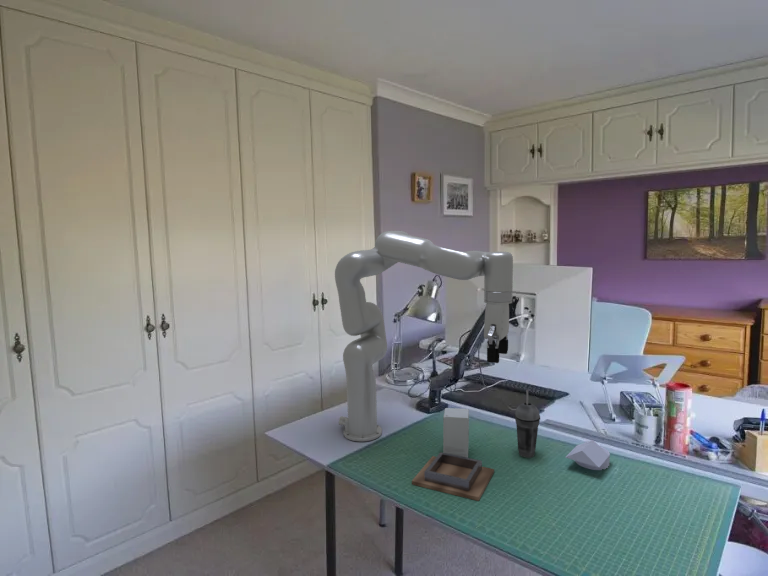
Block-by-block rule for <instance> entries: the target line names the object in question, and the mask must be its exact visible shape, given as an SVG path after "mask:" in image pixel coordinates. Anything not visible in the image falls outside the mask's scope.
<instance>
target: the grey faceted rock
mask: <svg viewBox="0 0 768 576" xmlns="http://www.w3.org/2000/svg"><path fill="white" fill-rule="evenodd" d="M610 457H611V454H610V451H609V450H608V449H607V448H605V447H603V446H601V445H599V444H598V443H597V442H596V441H595V440H594V439H590V440H589V441H586V442H583V443H580V444H576V446H574V447H573V449H572V450H571V451H570V452H569V453H567V455H566V456H565V459H569V460H572V461H574V462H575V463H576V464H577V465H578V466H580V467H583V468H585V469H588V470H593V471H603V470H602V469H604V470H606V468H607V469H608V468H609V467H610V460H611V459H610ZM608 466H609V467H608Z"/></svg>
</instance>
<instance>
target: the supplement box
mask: <svg viewBox="0 0 768 576" xmlns="http://www.w3.org/2000/svg"><path fill="white" fill-rule="evenodd" d="M442 417H443V423H442V426H443V428H442V429H443V430H442V435H443V437H442V438H443V439H442V440H443V441H442V442H443V445H442V447H443V450H442V451H443V453H447V454H452V455H457V456H462V457H466V458H469V442H470V441H469V440H470V439H469V437H470V433H469V432H470V428H469V427H470V410H469V409H468V408H455V407H454V408H453V407H446V408H444V411H443V416H442Z"/></svg>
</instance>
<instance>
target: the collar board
mask: <svg viewBox="0 0 768 576" xmlns="http://www.w3.org/2000/svg"><path fill="white" fill-rule="evenodd" d="M494 473H495V468H491V467H490V468H489V467H487V466H483V460H481V459H476V458H471V457H468V458H466V457H462V456H457V455H452V454H447V453H443V452H441V451H440V452H439V453H438V454H437V456H435V455H432V456H431V457H430V458H429V459H428V461H427V462H426V463H425V464H424V466H423V467H422V468H421V469H420V470H419V471H418V472H417V474H416V475H415V476H414V477H413V479H411V485H413V486H416V487H420V488H424V489H429V490H433V491H436V492H441V493H444V494H449V495H454V496H456V497H457V496H458V497H461V498H465V499H468V500H469V499H470V500H473V501H476V502H477V501H478V502H479V501H480V500H481V497H483V494H484V493H485V491H486V489H487V487H488V485H489V483H490V481H491V479H492V478H493V476H494Z"/></svg>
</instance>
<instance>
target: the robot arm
mask: <svg viewBox="0 0 768 576" xmlns="http://www.w3.org/2000/svg"><path fill="white" fill-rule="evenodd" d="M513 258H514V256H513V254H512V253H511V252H508V251H489V252H488V251H482V250H468V251H458V250H454V249H449V248H445V247H441V246H439V245H436V244H434V243H433V241H432V240H430V239H427V238H425V237H424V238H423V237H419V236H415V235H410V234H409V233H408V232H406V231H404V230H403V231H402V230H389V231H383V232H381V234H379V235H378V236H377V238H376V239H375V243H374V247H373V248H371V249H363V250H355V251H351V252H349V253H347V254H346V255H344V256H343V257H342V258H340V259H339V261H338V262H337V264H336V266H335V270H334V280H335V286H336V290H337V294H338V295H337V296H338V302H339V310H340V317H341V322H342V327H343V330H344V331H345V333H346V334H347V335H349V336H353V337H356V336H360V337H359V338H356V339H355V340H353V341H351V342H349V343H348V344H347V345H346V347H345V348H344V349H343V353H342V361H343V366H344V371H345V378H346V397H347V398H346V399H347V402H346V403H347V416H343V415H342V416H341V415H340V417H339V419H338V420H339V421H338V425H340V426H344V429H343V436H344V438H346V439H347V440H349V441H353V442H360V443H361V442H368V441H374V440H376V439H379V437H381V435H382V434H383V429H382V427H381V426H380V425H378V412H377V411H378V410H377V409H378V407H377V406H378V405H377V402H378V400H377V377H376V375H375V371H374V369H373V368H374V367H373V365H374V364H376V363H377V362H379V361H381V360H382V359H384V357H386V355H387V351H388V343H387V342H388V341H387V336H386V327H385V321H384V316H383V313H382V310H381V308H380V307H379V306H378V305H377V304H375V303H374V302H371V301H368V302H367V299H366V292H365V288H364V286H363V284H362V282H361V280H362V279H363V278H369V277H372V276H374V277H375V276H377V275H379V274H382V273H384V272H386V271H387V270H388V269H390V268H392V267H393V266H394V265H396V264H398V263H400V264H405V265H408V266H413V267H417V268H421V269H423V270H424V271H427V272H430V273H433V274H435V275H439V276H443V277H446V278H449V279H450V278H451V279H454V280H459V281H469V280H471V279H473V278H474V279H475V278H478V277H484V279H483V280H484V281H483V282H484V283H483V285H484V286H483V290H484V291H483V300H484V301H483V303H485V310H484V311H485V312H484V321H483V322H484V323H483V338H484V339H485V340H487V341H486V362H487V363H492V364H493V363H494V364H499V363H500V354H503V355H507V354H508V352H509V351H508V348H509V347H508V343H509V341H508V338H509V337H508V334H509V330H510V305H509V304H513V286H514V285H513V283H514V282H513V281H514V280H513V279H514V278H513V277H514V276H513V275H514V274H513V272H514V270H513V269H514V268H513V267H514V259H513Z"/></svg>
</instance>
